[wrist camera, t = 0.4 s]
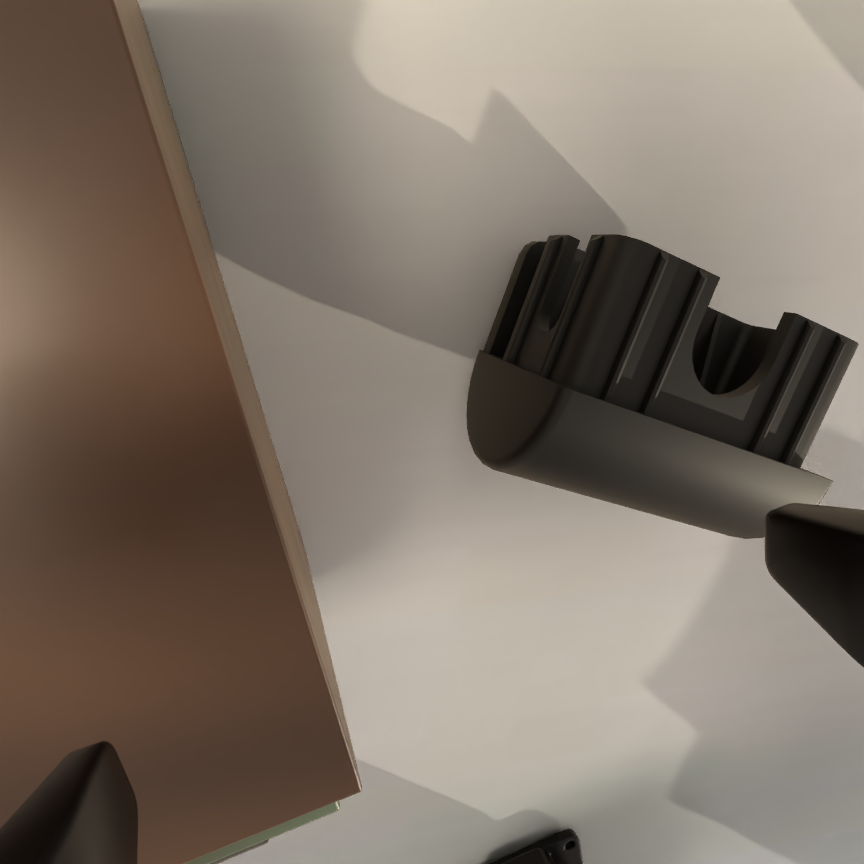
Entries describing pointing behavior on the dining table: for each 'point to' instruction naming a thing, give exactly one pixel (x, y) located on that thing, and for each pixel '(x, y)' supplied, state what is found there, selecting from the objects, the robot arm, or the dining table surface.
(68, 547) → the cabinet
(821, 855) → the dining table surface
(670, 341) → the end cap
